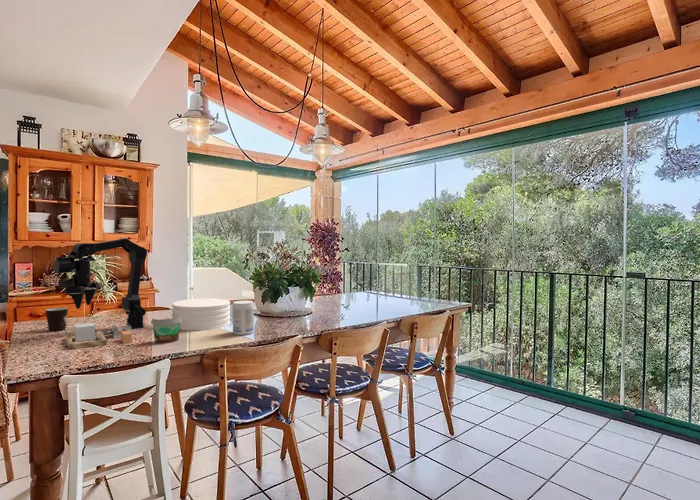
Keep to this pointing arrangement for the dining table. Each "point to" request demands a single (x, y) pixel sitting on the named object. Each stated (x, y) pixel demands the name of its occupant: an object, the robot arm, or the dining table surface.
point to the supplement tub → (243, 317)
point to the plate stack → (202, 313)
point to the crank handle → (126, 336)
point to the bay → (86, 344)
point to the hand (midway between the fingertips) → (83, 306)
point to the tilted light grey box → (84, 332)
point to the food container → (166, 330)
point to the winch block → (117, 330)
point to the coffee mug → (56, 319)
